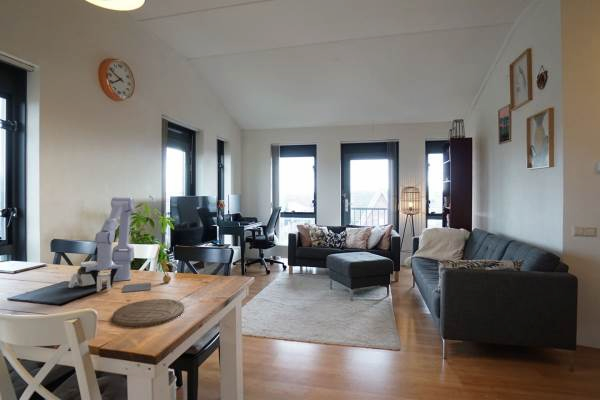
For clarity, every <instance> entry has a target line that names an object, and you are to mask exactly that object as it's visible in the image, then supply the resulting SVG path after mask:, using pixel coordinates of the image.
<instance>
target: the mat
mask: <svg viewBox="0 0 600 400" xmlns="http://www.w3.org/2000/svg"><path fill="white" fill-rule="evenodd" d="M151 290H152V283H151V282H145V283H144V282H142V283H134V284H133V283H132V284H124V285H123V289H122V291H121V292H122V294H123V293H132V292H134V293H135V292H144V291H151Z"/></svg>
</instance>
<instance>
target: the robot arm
mask: <svg viewBox="0 0 600 400" xmlns="http://www.w3.org/2000/svg"><path fill="white" fill-rule="evenodd" d="M110 207H111V211H110V215H109V218H106V219H105V220H104V223H103V225H102V227H101V229H100V231H99V232H97V233H96V234H95V238H94V242H95V246H96V248H97V259H96V262H97V266H91V267H86V272H89V271H91V275H92V277H93V279H94V281H95V285H96V286H95V287H96V288H97V276H98V271H100V272H101V271H110V273H111V281H110V286H111V287H112V286H113V283H114V282H120V281H130V280H131V279H132V275H133V274H131V263H132V262H133V260H134V259H135V249H134V246H132V245H131V244H129V243H130V242H129V241H130V230H131V229H130V226H131V215H132V214H133V213H135V200H134V198H133V197H116V196H113V197H112V198H111V200H110ZM118 220H119V223H118ZM118 225H119V228H118ZM117 228H118V229H119V230H118V240H117V241H118V243H117V245H115V246H114V247H112V246H113V243H114V241H115V237H116V236H115V235H116V230H117ZM112 262H113V263H112Z"/></svg>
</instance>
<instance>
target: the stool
mask: <svg viewBox="0 0 600 400" xmlns="http://www.w3.org/2000/svg"><path fill="white" fill-rule="evenodd" d="M104 279H106V292H108V291H111V289H112V285H111V286H110V281H111V272H109V273H107V272H106V273H100V274H99V275H98V276H97V287H96V292H101V290H102V288H103V287H102V286H103V282H102V280H104Z"/></svg>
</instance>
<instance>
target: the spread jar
mask: <svg viewBox="0 0 600 400" xmlns="http://www.w3.org/2000/svg"><path fill="white" fill-rule="evenodd" d="M91 266H97V260H96V261H95V260H94V261H93V260H90V261H83V262H81V263H80V267H79V268H78V269H77V272H76V273H73V274H72V276H71V278H70V281H69V284H68V288H70V289H73V288H74V286H75V284H76V283H77V285H78V287H79V288H80V287H82V288H81V289H88V288H87V287H91V288H94V286H95V287H96V285H95V281H94V279H93V277H92V275H91V271H89V272H86V267H91ZM99 274H101V271H98V275H99Z"/></svg>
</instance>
